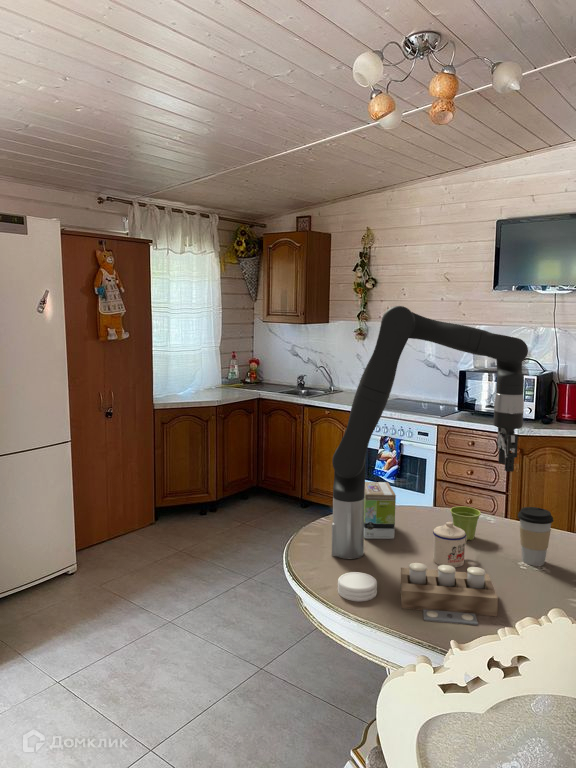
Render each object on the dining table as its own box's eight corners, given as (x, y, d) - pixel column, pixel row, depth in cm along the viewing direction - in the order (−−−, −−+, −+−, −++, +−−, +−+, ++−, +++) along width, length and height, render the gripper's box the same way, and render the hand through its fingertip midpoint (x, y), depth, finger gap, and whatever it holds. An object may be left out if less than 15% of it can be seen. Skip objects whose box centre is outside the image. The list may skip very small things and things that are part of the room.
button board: (401, 608, 136) (401, 590, 136) (400, 583, 149) (400, 567, 148) (497, 616, 132) (497, 598, 132) (487, 590, 145) (488, 573, 145)
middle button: (438, 587, 138) (438, 571, 138) (436, 579, 143) (437, 564, 142) (456, 588, 138) (456, 572, 137) (454, 580, 142) (454, 565, 141)
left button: (409, 584, 140) (409, 569, 139) (408, 577, 144) (409, 562, 143) (426, 586, 139) (427, 570, 138) (425, 578, 143) (426, 563, 143)
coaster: (376, 604, 139) (376, 590, 138) (335, 600, 140) (336, 587, 140) (377, 585, 148) (377, 572, 148) (339, 582, 150) (339, 569, 150)
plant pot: (483, 535, 182) (484, 509, 181) (475, 545, 174) (476, 518, 174) (454, 529, 187) (454, 504, 186) (445, 539, 179) (446, 512, 179)
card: (424, 620, 131) (424, 617, 131) (422, 610, 135) (422, 608, 135) (478, 625, 129) (478, 622, 128) (475, 615, 133) (475, 612, 133)
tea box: (395, 539, 179) (396, 494, 178) (363, 539, 179) (364, 494, 178) (387, 522, 194) (388, 480, 192) (358, 522, 194) (359, 480, 193)
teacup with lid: (451, 571, 156) (452, 530, 155) (425, 560, 164) (426, 521, 162) (477, 560, 163) (479, 521, 162) (452, 550, 170) (453, 513, 169)
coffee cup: (551, 558, 165) (553, 508, 163) (551, 571, 156) (553, 519, 154) (516, 552, 169) (518, 504, 167) (514, 565, 160) (516, 514, 158)
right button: (468, 589, 137) (468, 573, 137) (465, 581, 141) (466, 566, 141) (486, 590, 136) (486, 575, 136) (483, 582, 141) (483, 567, 140)
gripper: (489, 405, 163) (487, 460, 165) (499, 413, 149) (496, 473, 151) (517, 406, 162) (514, 461, 163) (529, 414, 148) (526, 474, 149)
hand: (505, 467), depth 157 cm, fingers open, 8 cm apart
